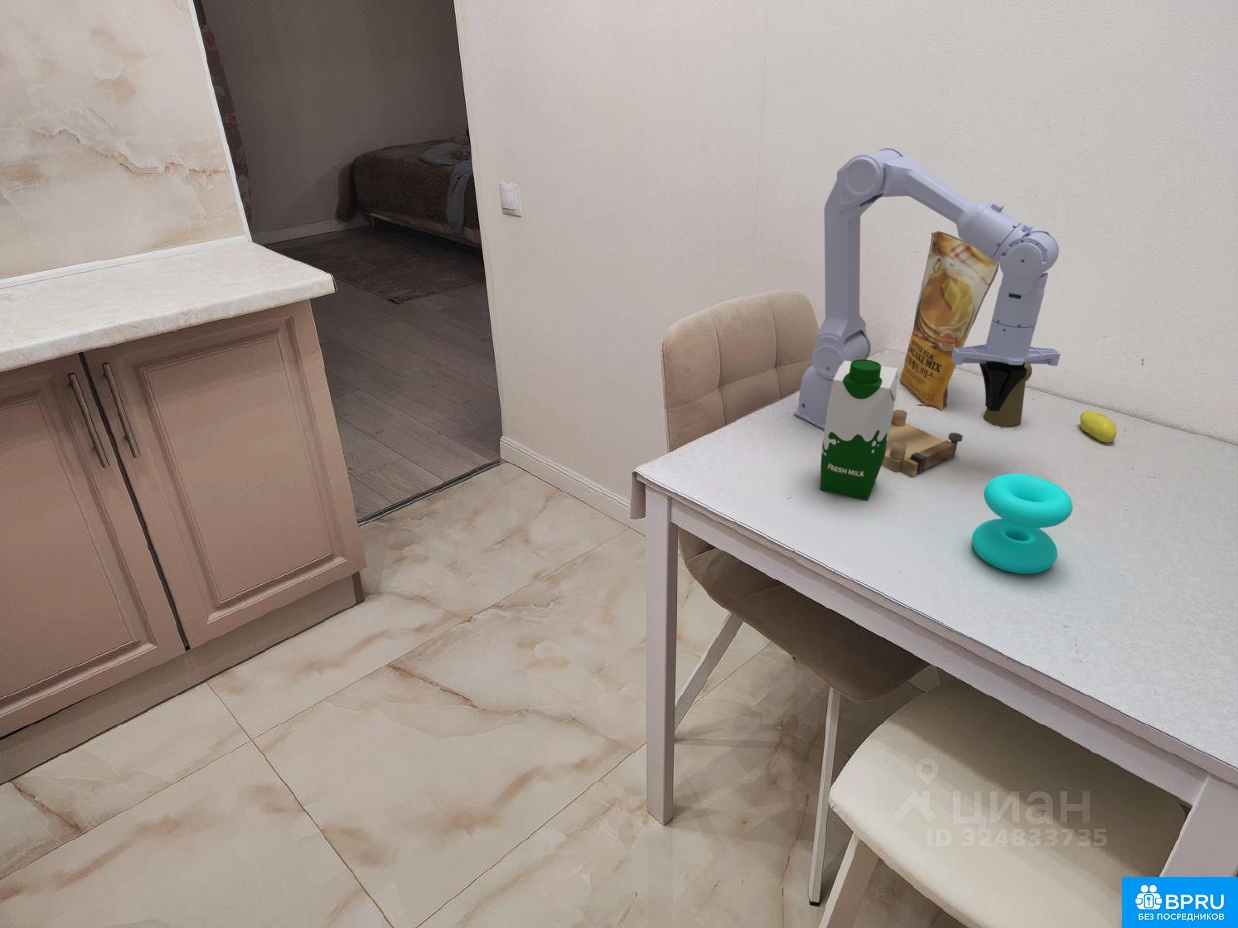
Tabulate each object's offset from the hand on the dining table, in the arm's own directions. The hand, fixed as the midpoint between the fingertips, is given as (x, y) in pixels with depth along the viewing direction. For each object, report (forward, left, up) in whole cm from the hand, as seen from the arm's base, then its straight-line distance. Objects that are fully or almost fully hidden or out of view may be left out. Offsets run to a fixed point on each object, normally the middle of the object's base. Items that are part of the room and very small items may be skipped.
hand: (992, 408), depth 118 cm
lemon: (+4, +26, -10) cm, 28 cm away
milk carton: (-7, -21, -10) cm, 24 cm away
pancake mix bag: (-23, +17, -10) cm, 30 cm away
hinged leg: (-4, -6, -10) cm, 12 cm away
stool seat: (-10, -6, -10) cm, 15 cm away
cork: (-8, +18, -10) cm, 22 cm away
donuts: (+17, -17, -10) cm, 26 cm away
